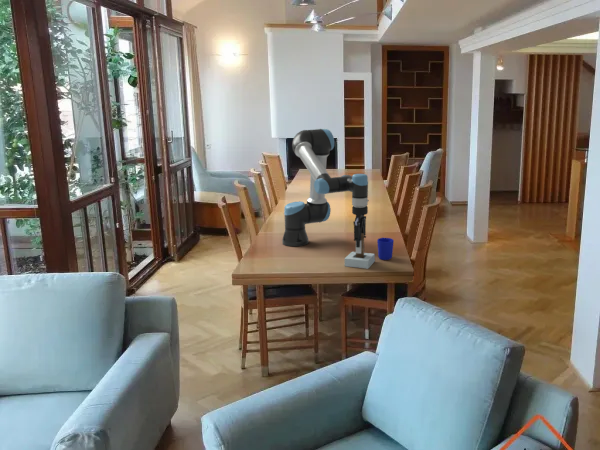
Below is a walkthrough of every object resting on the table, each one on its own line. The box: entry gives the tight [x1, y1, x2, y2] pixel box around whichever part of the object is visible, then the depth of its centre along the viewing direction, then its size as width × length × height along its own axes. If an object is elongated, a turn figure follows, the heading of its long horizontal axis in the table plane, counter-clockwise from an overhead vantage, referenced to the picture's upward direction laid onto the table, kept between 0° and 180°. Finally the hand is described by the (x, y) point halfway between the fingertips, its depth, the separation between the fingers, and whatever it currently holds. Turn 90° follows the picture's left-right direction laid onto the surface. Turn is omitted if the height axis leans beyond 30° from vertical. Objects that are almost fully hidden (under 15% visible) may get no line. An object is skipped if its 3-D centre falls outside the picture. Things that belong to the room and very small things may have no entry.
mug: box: [377, 237, 395, 261], centre depth 266 cm, size 8×12×10 cm
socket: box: [344, 251, 376, 270], centre depth 257 cm, size 12×12×4 cm
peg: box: [356, 233, 365, 258], centre depth 256 cm, size 4×4×14 cm
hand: (359, 251), depth 256 cm, fingers closed on peg, 4 cm apart
